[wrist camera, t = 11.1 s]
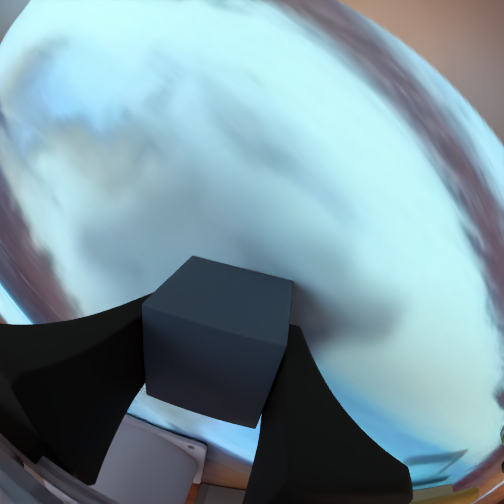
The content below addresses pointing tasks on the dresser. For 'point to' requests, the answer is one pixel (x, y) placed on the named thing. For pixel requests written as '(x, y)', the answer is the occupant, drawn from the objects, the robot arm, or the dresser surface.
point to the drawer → (444, 495)
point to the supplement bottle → (502, 436)
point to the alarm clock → (219, 495)
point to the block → (216, 339)
